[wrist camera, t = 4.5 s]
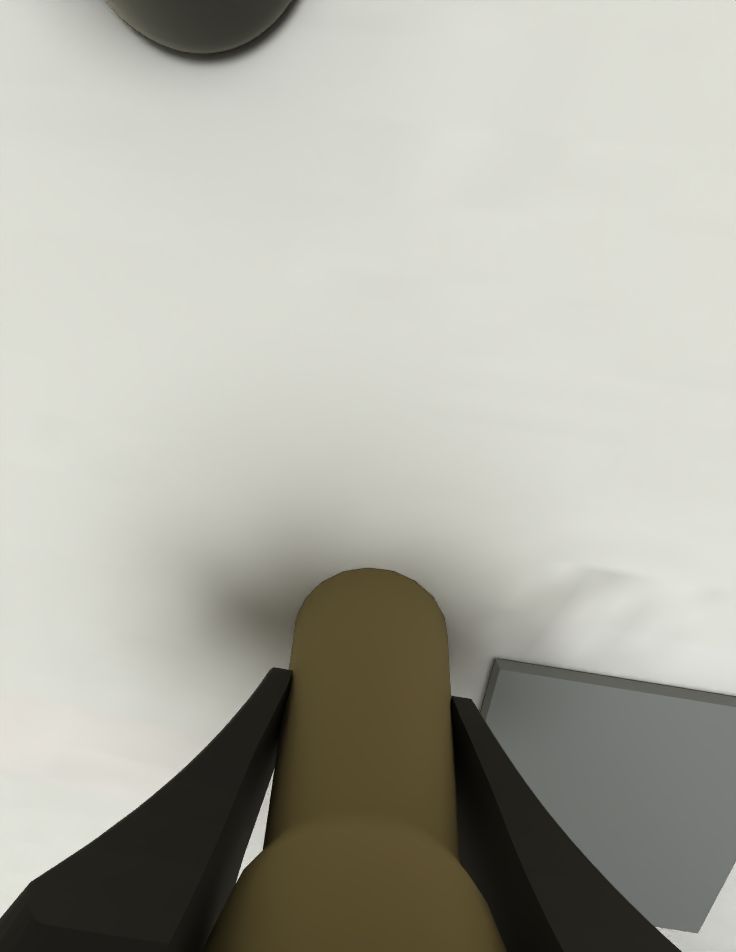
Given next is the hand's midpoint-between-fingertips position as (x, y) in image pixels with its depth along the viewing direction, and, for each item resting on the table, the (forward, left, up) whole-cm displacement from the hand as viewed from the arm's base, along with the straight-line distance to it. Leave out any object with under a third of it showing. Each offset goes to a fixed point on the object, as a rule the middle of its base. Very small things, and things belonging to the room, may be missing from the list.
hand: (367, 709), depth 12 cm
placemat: (-6, -11, -3) cm, 13 cm away
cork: (0, 0, -4) cm, 4 cm away
